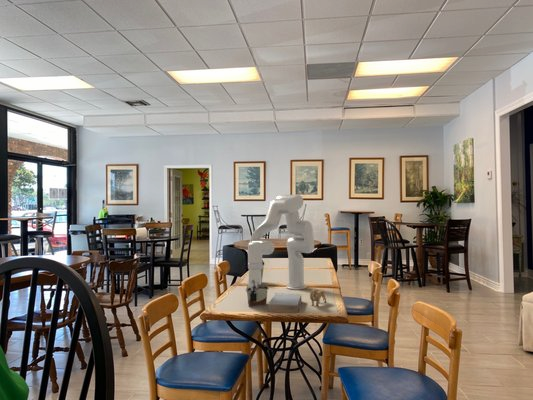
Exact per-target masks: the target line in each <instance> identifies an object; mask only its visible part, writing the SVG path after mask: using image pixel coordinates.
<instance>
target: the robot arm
mask: <svg viewBox="0 0 533 400" xmlns="http://www.w3.org/2000/svg"><path fill="white" fill-rule="evenodd" d="M303 206H304V199H303V196H302V195H300V194H282V195H281V194H280V195H278V196H276V198H275V199H274V200H272V201H270V203H269V205H268V207H267V212H266V213H265V217H264V220H263V222H262V223H261V224H259V225H258V226H257V228H256V229H254V231H253V233H252V234H251V237H250V239H249V242H248V244H247V269H248V270H249V271H248V285H247V286H248V288H249V289H250V288H251V289H250V301H257V293H256V289H257V288H258V287H260V285H261V284H262V283H261V269H262V260H263V255H264V256H266V255H267V256H268V255H271V254H273V252H274V251H275V245H274V243H273V242H272V241H270V240H261V239H262V237H263V236H265V235H266V234H267V233H270V232H272V231H275V230H276V229H278V227H279V225H280V223H281V218H282V215H284V216H285V222H286V230H287V233H288V235H290V236H292V237H289V238H288V239H287V240H286V249H287V255H288V284H286V286H285V287H286V288H287V289H289V290H295V291H296V290H297V291H298V290H305V289H307V284H305V264H304V261H305V259H304V256H303V253H304V254H311V253H313V252H314V249H315V239H314V229H313V225H312V223H311V221H309V220H306V219H304V220H301V218H300V213H299V210H300V209H301V208H302V207H303ZM254 289H255V290H254Z"/></svg>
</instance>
